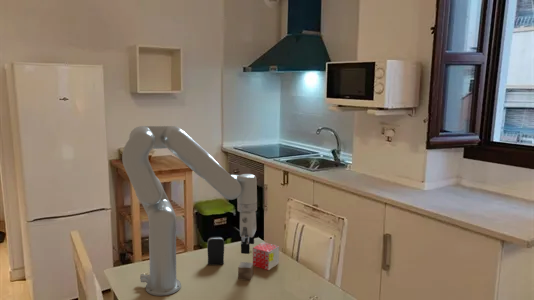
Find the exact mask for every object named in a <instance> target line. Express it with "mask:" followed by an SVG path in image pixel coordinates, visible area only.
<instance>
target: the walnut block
mask: <svg viewBox="0 0 534 300" xmlns="http://www.w3.org/2000/svg"><path fill="white" fill-rule="evenodd" d="M237 272H238V273H237V280H242V281H243V280H244V281H251V280H252V278H253V275H254V266H253V262H246V261H240V263H239V265H238V267H237Z"/></svg>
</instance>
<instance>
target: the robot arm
mask: <svg viewBox="0 0 534 300" xmlns="http://www.w3.org/2000/svg"><path fill="white" fill-rule="evenodd" d="M155 149H158V150H159V149H160V150H161V149H167V150H168V151H170V152H171V154H173V155H174V156H175V157H177V158H178V159H179V160H180V161H181V162H183V164H185V165H186V166H187V167H188V168H189V169H191V171H192V172H193V173H194V174H196V175H197V176H198V177H200V178H202V179H203V180H204V181H205V182H207V183H208V184H209V185H210V186H211V187H212V188H213V189H214V190H216V192H218V193H219V194H220V195H221V196H222V197H223V198H225V199H226V200H230V201H232V200H235V199H237V212H239V236H240V237H241V239H240V253H241V254H245V255H246V254H247V255H249V254H250V249H251V248H250V245H254V244H255V235H256V231H257V210H258V189H257V188H258V187H257V185H258V182H257V176H256V175H254V174H252V173H242V174H231V173H229V172H228V171H227V170H226V169H225V168H224V167H222V166H221V164H219V163H218V161H216V159H215V158H214V157H213V156H212V155H211V154H210V153H209V152H208V151H207V150H206V149H204V148H203V146H201V145H200V144H199V143H198V142H197V141H195V140H194V138H192V137H191V136H190V135H189V134H188V133H187V132H185V130H183V129H182V128H180V127H179V126H175V125H167V126H166V125H163V126H161V125H160V126H159V125H158V126H157V125H155V126H154V125H139V126H136V127H134V128H133V129H132V130H131V131H130V133H129V137H128V140H127V142H126V143H125V146H124V147H123V150H122V154H121V155H122V157H121V159H122V165H123V168H124V170H125V172H126V175H127V177H128V179H129V182H130V184H131V185H132V187H133V190H134V193H135V196H136V198H137V199H138V201H139V202H140V203H141V205H142V207H143V209H144V211H145V214H146V216H147V220H148V249H149V250H148V251H149V252H148V253H149V255H148V256H149V274H140V276H139V279H140V283H146V285H145V291H146V292H147V294H150V295H152V296H159V297H160V296H161V297H163V296H168V295H172V294H175V293H177V292H178V291H179V290H180V289H181V288H182V285H181V281H180V280H179V279H177V228H178V227H177V225H178V224H177V222H178V221H177V215H176V212H175V209H174V207H173V205H172V203H171V202H170V200H169V197H168V195H167V193H166V191H165V190H164V189H165V188H164V187H163V185H162V183H161V180H160V179H159V177H157V176H156V173H155V171H154V169H153V167H152V165H151V163H150V160H149V157H150V152H151V151H152V150H155Z"/></svg>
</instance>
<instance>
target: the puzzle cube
mask: <svg viewBox="0 0 534 300" xmlns="http://www.w3.org/2000/svg"><path fill="white" fill-rule="evenodd" d="M279 256H280V246H279V245H277V244H272V243H268V242H265V241H263V242H261V243H259V244H257V245H256V246H254V247H252V263H253V267H256V268H260V269H263V270H267V271H270V270H271V269H273V268H274V267H276V266H277V265H279V259H280V258H279Z"/></svg>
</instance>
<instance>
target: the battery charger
mask: <svg viewBox="0 0 534 300" xmlns="http://www.w3.org/2000/svg"><path fill="white" fill-rule="evenodd" d="M206 244H207V245H206V247H207V248H206V249H207V265H209V266H211V265H212V266H215V265H224V263H225V262H224V261H225V260H224V257H225V241H224V238H223V237H222V236H210V237H209V238H208V239H207V243H206Z"/></svg>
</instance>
